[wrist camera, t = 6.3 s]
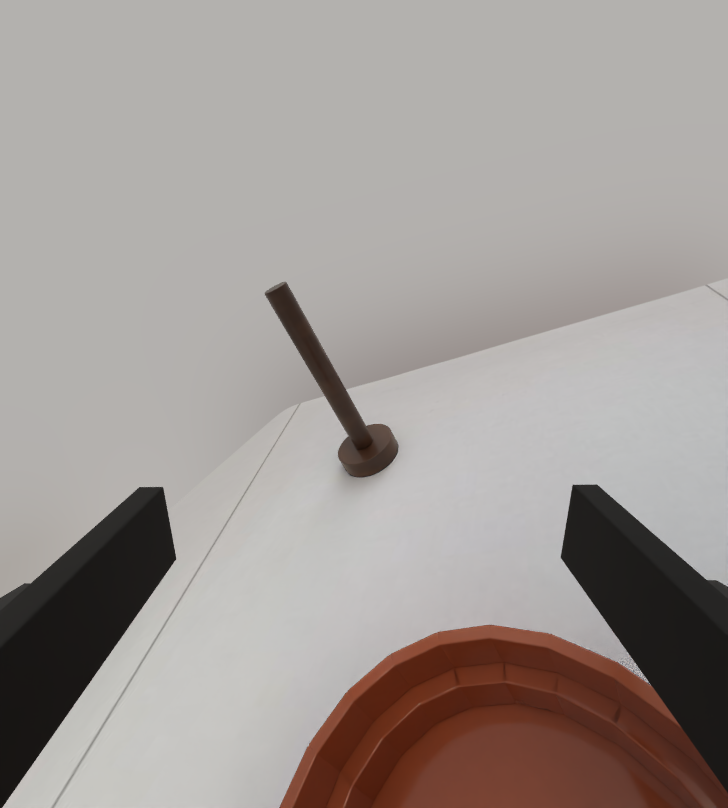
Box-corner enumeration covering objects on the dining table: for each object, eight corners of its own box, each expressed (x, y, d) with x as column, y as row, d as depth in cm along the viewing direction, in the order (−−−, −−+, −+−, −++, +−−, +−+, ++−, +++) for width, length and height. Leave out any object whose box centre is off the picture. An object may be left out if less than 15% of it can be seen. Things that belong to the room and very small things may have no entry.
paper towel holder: (376, 430, 44) (291, 272, 35) (409, 446, 39) (319, 266, 30) (335, 464, 42) (234, 306, 33) (365, 485, 37) (255, 306, 28)
